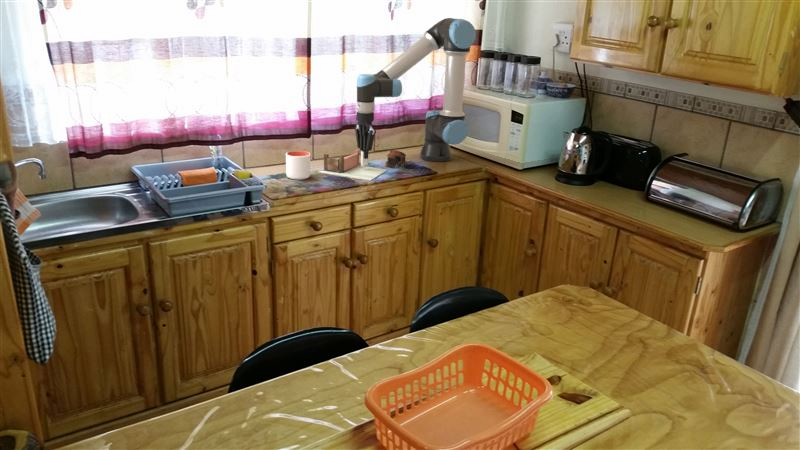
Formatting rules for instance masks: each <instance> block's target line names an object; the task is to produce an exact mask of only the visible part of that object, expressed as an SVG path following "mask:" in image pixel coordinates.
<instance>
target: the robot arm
mask: <svg viewBox="0 0 800 450" xmlns="http://www.w3.org/2000/svg"><path fill="white" fill-rule="evenodd" d="M476 37H477V33H476V29H475V26H474V25H473V24H472V23H471V22H470V21H468V20H467V19H463V18H452V17H447V18H444V19H441V20H440V21H439V20H438V22H437V23H435V24H434V25H432V27H430V28H428V29H427V30H426V31H425V32H423V36H422V37H421V38H420V39H418V40H417V41H416V42H414V44H412V45H411V46H409V47H408V48H407V49H406V50H405V51H404V52H402V53H401V54H399V55H398V56H397V57H395V59H393V60H392V61H391V62H389V63H388V64H387V65H386V66H384V67H383V68H382V69H381V70H379V71H378V72H377V73H374V74H371V73H369V74H367V73H361V74H359V75H357V78H356V121H357V124H356V125H354V131H355V137H356V138H355V139H356V145H357V148H358V149H359V150H360V166H366V167H368V166H369V163H368V162H369V152H370V151H372V150H373V145H374V139H375V135H376V133H377V131H376V129H374V128H373V122H374V120H375V112H374V111H375V102H376V101H375V98H398V97H401V95H402V93H403V85H402V84H403V83H402V81H401V80H400V79H399V78H400V77H402V76H403V75H404V74H406V73H407V72H408V71H410V70H411V69H412V68H413V67H414V66H415V65H417V64H418V63H420V62H421V61H422V60H424V59H425V58H426V57H427V56H428V55H430V54H432V52H434V51H438V50H440V49H441V48H443V53H445V56H446V59H445V73H444V88H443V102H442V103H443V104H442V110H439V109H438V110H428V111H427V112H426V114H425V124H424V125H425V126H424V142H423V144H422V147H421V150H420V153H419V158H420V160H423V161H428V162H436V163H438V162H439V163H441V162H442V163H443V162H449V161H451V160H452V151H451V148H450V145H452V146H453V145H459V144H461V143H463V141H464V140H465V139H466V138H467V136H468V133H469V126H468V124H467V123H466V121H465V119H466V118H465V117H466V113H465V112H464V111H463V103H464V101H463V100H464V91H465V90H464V88H465V75H466V64H467V63H466V62H467V61H466V60H467V56H468V54H470V52H471V46H472V45H473V44H474V43H475V41H476Z"/></svg>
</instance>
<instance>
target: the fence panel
mask: <svg viewBox="0 0 800 450" xmlns="http://www.w3.org/2000/svg"><path fill="white" fill-rule="evenodd" d="M360 155H361V150H360V149H355V150H354V153H353V154H350V155H348V156H346V157H344V171H345V170H347V169H350V168H352V167H354V166H357V165H359V166H360Z"/></svg>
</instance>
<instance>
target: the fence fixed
mask: <svg viewBox="0 0 800 450" xmlns="http://www.w3.org/2000/svg"><path fill="white" fill-rule="evenodd" d="M329 155H330V154H329V153H324V154H323V169H324V170H325V171H328V170H333V171H339V173H344V158H345V157H344V156H343V155H340V156H339V157H338V158H336V157H330V156H329Z"/></svg>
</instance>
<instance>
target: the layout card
mask: <svg viewBox="0 0 800 450" xmlns="http://www.w3.org/2000/svg"><path fill="white" fill-rule="evenodd" d="M387 170H388V169H387V168H386V169H385V168H379V167H374V166H373V167H371V166H361V165H360V164H359V165H357V166H354V167H352V168H350V169H347V170H345V171H344V173H339V171H333V170H328V171H325V170H324V168H323V169H322V170H319V171H318V172H317V173H318V174H323V175H331V176H336V177H344V178H348V179H349V178H350V179H357V180H363V181H370V182H371V181H372V180H373V181H374V179H376V178H378V177H379V176H381V175H383V174H384V173H386V172H388V171H387Z"/></svg>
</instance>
